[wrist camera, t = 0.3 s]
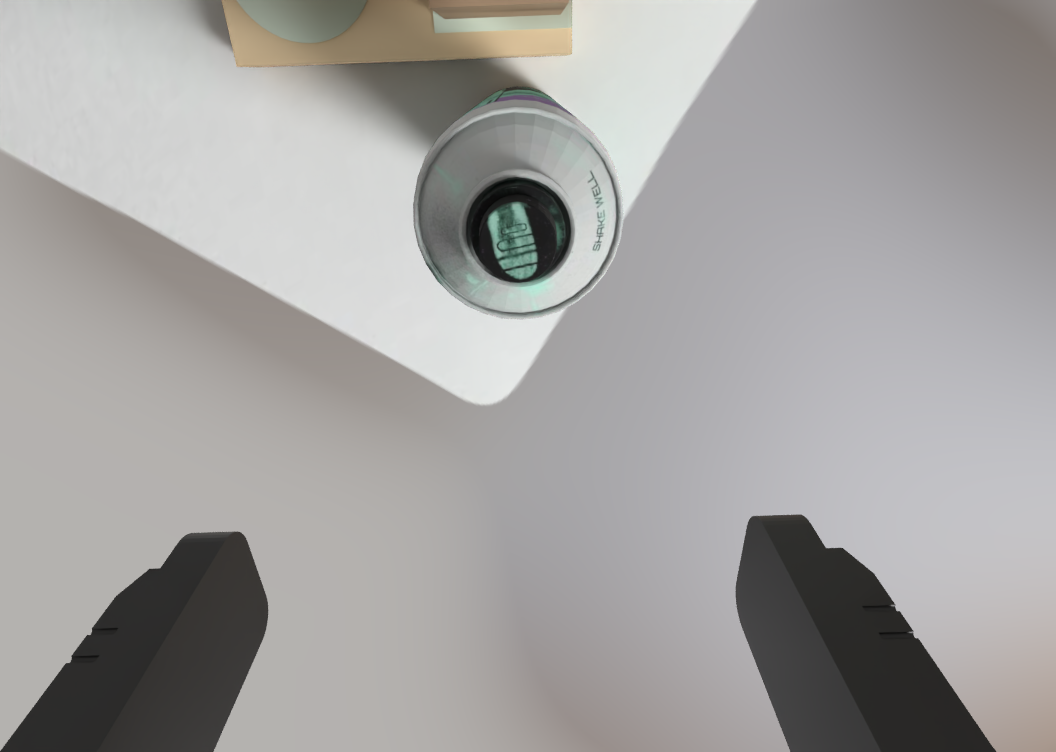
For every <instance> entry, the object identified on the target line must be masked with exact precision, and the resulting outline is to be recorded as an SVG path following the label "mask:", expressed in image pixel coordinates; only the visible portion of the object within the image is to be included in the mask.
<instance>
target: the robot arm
mask: <svg viewBox="0 0 1056 752" xmlns="http://www.w3.org/2000/svg"><path fill="white" fill-rule="evenodd" d="M736 604H737V610H738V614H739V618H740V623H741V625H742V628H743V631H744V633H745V636H746V639H747V641H748V644H749V646H750V649H751V651H752V654H753V657H754V659H755V662H756V664H757V667H758V669H759V672H760V674H761V677H762V680H763V682H764V685H765V687H766V690H767V692H768V695H769V698H770V700H771V703H772V705H773V708H774V710H775V713H776V716H777V718H778V721H779V723H780V726H781V728H782V731H783V734H784V736H785V739H786V741H787V744H788V746H789V749H790V752H996V751H995V749H994V748H993V747H992V745H991V744H990V743H989V741H988V740H987V738H986V737H985V735H984V734H983V732H982V731H981V729H980V728H979V726H978V725H977V724H976V722H975V721H974V719H973V718H972V716H971V715H970V713H969V712H968V710H967V709H966V708H965V706H964V705H963V703H962V702H961V700H960V699H959V697H958V696H957V694H956V693H955V692H954V690H953V688H952V687H951V686H950V684H949V683H948V681H947V680H946V678H945V677H944V675H943V674H942V672H941V671H940V669H939V668H938V667H937V665H936V664H935V662H934V661H933V659H932V658H931V656H930V655H929V654H928V652H927V651H926V649H925V648H924V646H923V645H922V643H921V642H920V640H919V639H918V638H917V639H915V637H914V635H913V630H912V629H911V627H910V626H909V624H908V623H907V621H906V620H905V618H904V617H903V615H902V614H901V612H900V611H896V609H895V604H894V602H893V601H892V600H891V598H890V596H889V595H888V593H887V592H886V591H885V589H884V588H883V586H882V585H881V584H880V582H879V580H878V579H877V577H876V576H875V575H874V573H873V572H871V571H870V570H869V569H868V568H866V567H865V566H864V565H863V564H861V563H860V562H859V561H857V559H855V558H854V557H853V556H852V555H850V554H849V553H848V552H847V551H845V550H844V549H843V548H825V546H824V544H823V543H822V541H821V540H820V538H819V536H818V535H817V533H816V531H815V530H814V528H813V527H812V525H811V523H810V522H809V521H808V520H807V518H805V517H804V516H803V515H773V516H753V517H751V518H750V520H749V522H748V525H747V529H746V535H745V540H744V545H743V551H742V556H741V561H740V566H739V571H738V577H737V582H736ZM267 620H268V602H267V598H266V594H265V591H264V588H263V585H262V582H261V580H260V577H259V574H258V571H257V568H256V565H255V562H254V559H253V557H252V554H251V551H250V548H249V545H248V542H247V540H246V538H245V536H244V535H243V534H242V533H240V532H212V533H211V532H210V533H190V534H187V535H186V536H184V537H183V538H182V539H181V540H180V541H179V543H178V544H177V545H176V547H175V548H174V550H173V551H172V552H171V554H170V555H169V557H168V558H167V560H166V561H165V563H164V564H163V565H162V567H161V568H160V569H149V570H148V571H147V572H146V573H144V574H143V575H142V576H140V577H139V578H138V579H137V580H135V581H134V582H133V583H132V584H131V585H129V586H128V587H127V588H126V589H124V590H123V591H122V592H121V593H120V594H118V595H117V596H116V597H115V598H114V600H113V601H112V603H111V604H110V605H109V606H108V608H107V609H106V610H105V612H104V613H103V615H102V616H101V617H100V618H99V620H98V621H97V623H96V624H95V625H94V627H93V628H92V633H91V635H87V636H86V637H85V639H84V640H83V641H82V643H81V644H80V645H79V647H78V648H77V649H76V651H75V652H74V653H73V655H72V660H71V662H70V663H66V664H65V665H64V667H63V668H62V670H61V671H60V672H59V673H58V675H57V676H56V677H55V679H54V680H53V681H52V683H51V684H50V686H49V687H48V688H47V689H46V691H45V692H44V693H43V695H42V696H41V698H40V699H39V700H38V702H37V703H36V704H35V706H34V707H33V708H32V710H31V711H30V712H29V714H28V715H27V716H26V718H25V719H24V720H23V722H22V723H21V724H20V726H19V727H18V728H17V730H16V731H15V732H14V734H13V735H12V736H11V738H10V739H9V740H8V742H7V743H6V744H5V746H4V747H3V749H2V750H1V751H0V752H213V751H214V749H215V747H216V744H217V742H218V740H219V738H220V735H221V733H222V731H223V728H224V726H225V724H226V722H227V719H228V717H229V715H230V713H231V710H232V708H233V706H234V704H235V701H236V699H237V697H238V694H239V692H240V690H241V688H242V685H243V683H244V681H245V679H246V676H247V674H248V671H249V669H250V667H251V665H252V663H253V660H254V658H255V656H256V654H257V651H258V649H259V647H260V644H261V642H262V640H263V637H264V634H265V631H266V626H267Z"/></svg>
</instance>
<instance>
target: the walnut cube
mask: <svg viewBox="0 0 1056 752" xmlns="http://www.w3.org/2000/svg"><path fill="white" fill-rule="evenodd" d="M568 3H569V0H429V8H430V9H432V10H433V11H434V12H436V13H437V14H439V15H440V16H441V17H443V18H444V19H464V18H489V17H515V16H541V15H561V13H562V12H563V10H564V9H565V7H566V6H567V4H568Z"/></svg>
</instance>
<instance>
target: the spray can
mask: <svg viewBox="0 0 1056 752" xmlns="http://www.w3.org/2000/svg"><path fill="white" fill-rule="evenodd" d="M413 209H414V228H415V233H416V238H417V242H418V246H419V248H420V251H421V253H422V255H423V258H424V260H425V262H426V265H427V266H428V267H429V269H430V270H431V272H432V273H433V275H434V276H435V278H436V279H437V281H438V282H439V283H440V284H441V285H442V286H443V287H444V288H445V289H446V290H447V291H448V292H449V293H450V294H451V295H452V296H454V297H455V298H457V299H458V300H459V301H461V302H462V303H464V304H465V305H467V306H469V307H471V308H473V309H475V310H477V311H480V312H482V313H484V314H487V315H492V316H496V317H500V318H505V319H530V318H538V317H543V316H546V315H549V314H553V313H556V312H559V311H561V310H563V309H565V308H567V307H568V306H570V305H572V304H574V303H576V302H577V301H578V300H580V299H581V298H582V297H583V296H585V295H586V294H587V293H588V292H590V291H591V290H592V289H593V288H594V286H595V285H596V284H597V283H598V282H599V281H600V279H601V278H602V277H603V276H604V274H605V273H606V271H607V269H608V267H609V266H610V264H611V262H612V260H613V259H614V257H615V254H616V251H617V248H618V245H619V242H620V239H621V232H622V226H623V199H622V190H621V186H620V182H619V178H618V174H617V170H616V168H615V166H614V164H613V162H612V160H611V157H610V155H609V153H608V151H607V150H606V148H605V147H604V146H603V144H602V143H601V142H600V140H599V139H598V138H597V137H596V135H595V134H594V133H593V132H592V131H591V130H590V129H589V128H587V127H586V126H585V125H584V124H583V123H582V122H581V121H579V120H578V119H577V118H576V117H575V116H573V115H572V114H571V113H570V112H568V111H567V110H566V109H565V108H563V107H562V106H561V105H560V104H558V103H557V102H556V101H555V100H553V99H552V98H551V97H550V96H548V95H546V94H544V93H543V92H541V91H539V90H536V89H532V88H529V87H518V86H517V87H510V88H505V89H503V90H500V91H497V92H495V93H494V94H492V95H491V96H489V97H488V98H486V99H485V100H483V101H482V102H481V103H479V104H478V105H477V106H475V107H474V108H473V109H471V110H470V111H469V112H467V113H466V114H465V115H463V116H462V117H460V118H459V119H458V120H456V121H455V122H454V123H453V124H452V125H451V126H450V127H449V128H448V129H447V130H446V131H445V132H444V133H443V134H442V135H441V136H440V137H439V138H438V139H437V140H436V142H435V143H434V145H433V146H432V148H431V149H430V151H429V152H428V154H427V156H426V157H425V160H424V162H423V165H422V168H421V170H420V173H419V175H418V179H417V185H416V190H415V196H414V204H413Z"/></svg>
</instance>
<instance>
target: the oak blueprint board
mask: <svg viewBox="0 0 1056 752" xmlns="http://www.w3.org/2000/svg"><path fill="white" fill-rule="evenodd" d="M222 4H223V9H224V13H225V17H226V22H227V26H228V31H229V35H230V39H231V44H232V48H233V52H234V57H235V61H236V65H237V67H277V66H303V65H329V64H355V63H381V62H407V61H433V60H459V59H485V58H511V57H537V56H563V55H570V54H572V0H569V3H568V4H567V6H566V7H565V9H564V10H563V12H562V13H561V15H541V16H515V17H489V18H464V19H444V18H443V17H441V16H440V15H439V14H437V13H436V12H434V11H433V10H432V9H430V8H429V0H222Z"/></svg>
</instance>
